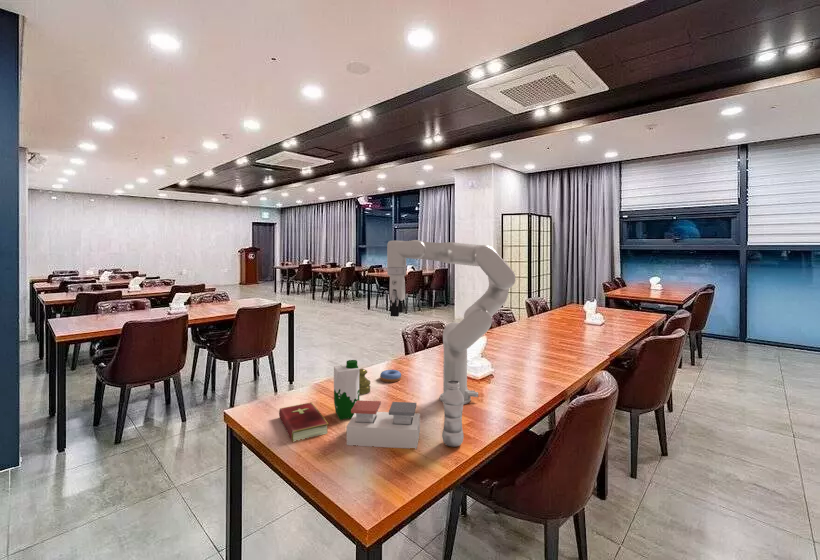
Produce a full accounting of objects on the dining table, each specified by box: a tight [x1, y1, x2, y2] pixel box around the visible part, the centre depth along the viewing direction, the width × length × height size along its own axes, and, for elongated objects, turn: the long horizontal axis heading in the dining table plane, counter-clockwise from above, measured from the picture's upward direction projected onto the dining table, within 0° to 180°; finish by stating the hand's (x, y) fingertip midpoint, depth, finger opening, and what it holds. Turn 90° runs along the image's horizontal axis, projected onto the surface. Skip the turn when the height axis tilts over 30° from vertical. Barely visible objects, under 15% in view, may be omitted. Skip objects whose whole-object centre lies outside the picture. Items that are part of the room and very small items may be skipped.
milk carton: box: [333, 359, 361, 421], centre depth 142 cm, size 9×9×20 cm
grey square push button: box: [388, 401, 417, 425], centre depth 124 cm, size 8×8×6 cm
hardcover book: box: [278, 401, 329, 443], centre depth 134 cm, size 12×21×4 cm, turn 29°
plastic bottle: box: [441, 380, 465, 448], centre depth 120 cm, size 6×7×20 cm
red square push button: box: [351, 399, 382, 423], centre depth 125 cm, size 8×8×6 cm
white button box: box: [346, 411, 421, 450], centre depth 125 cm, size 22×12×6 cm, turn 84°
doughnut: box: [379, 369, 402, 383], centre depth 182 cm, size 10×10×5 cm
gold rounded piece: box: [359, 368, 371, 395], centre depth 166 cm, size 7×7×10 cm
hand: (396, 314), depth 155 cm, fingers open, 9 cm apart
